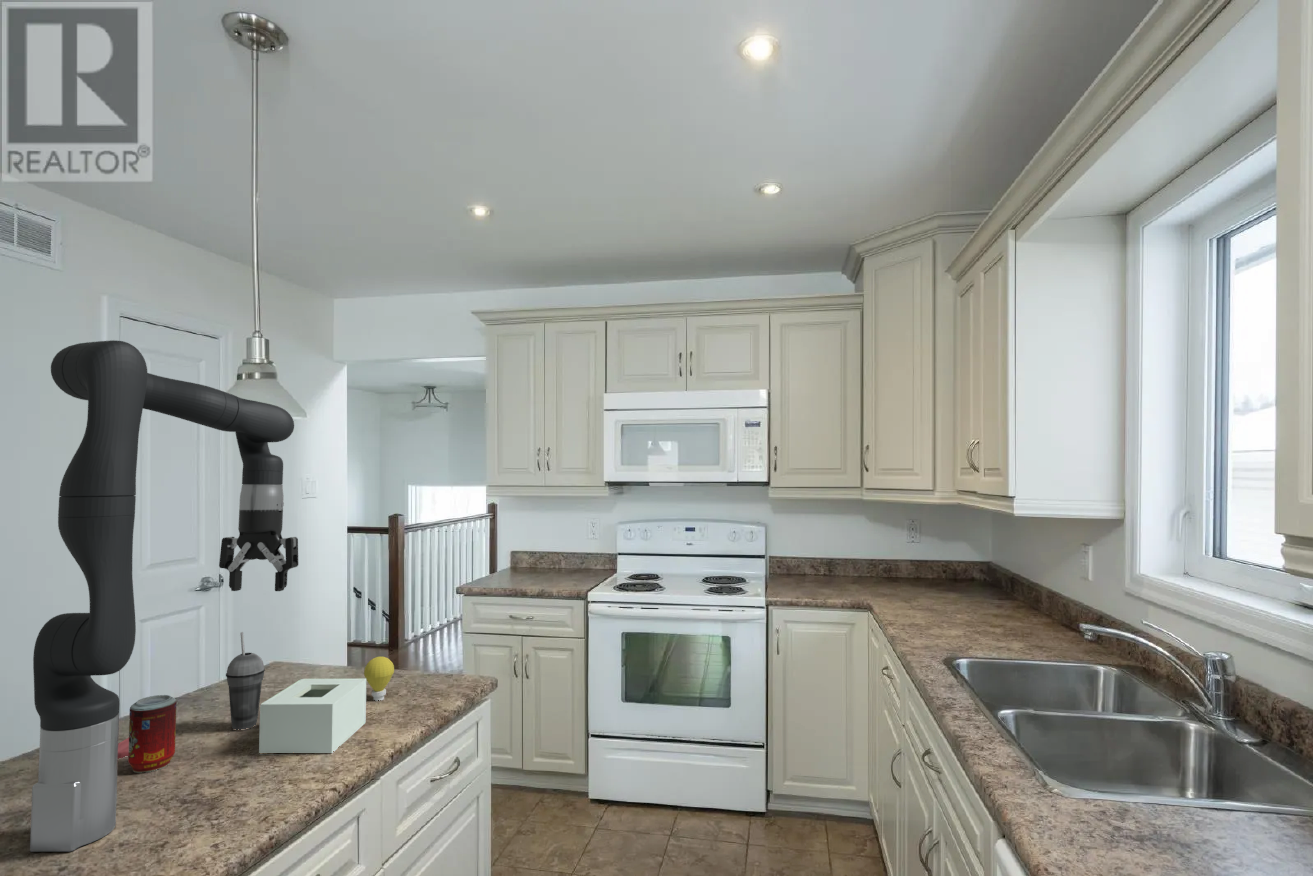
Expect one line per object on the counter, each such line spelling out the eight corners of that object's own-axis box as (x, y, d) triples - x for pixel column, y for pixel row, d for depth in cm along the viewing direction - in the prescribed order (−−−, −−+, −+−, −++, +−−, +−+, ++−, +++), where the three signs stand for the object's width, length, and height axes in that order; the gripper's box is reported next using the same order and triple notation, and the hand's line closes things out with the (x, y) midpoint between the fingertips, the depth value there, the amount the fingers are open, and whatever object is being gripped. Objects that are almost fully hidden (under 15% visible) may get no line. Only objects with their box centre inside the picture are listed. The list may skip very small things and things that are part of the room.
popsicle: (177, 723, 145) (128, 753, 130) (177, 730, 145) (127, 761, 130) (151, 723, 145) (98, 753, 130) (151, 731, 145) (98, 762, 130)
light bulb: (363, 697, 165) (363, 655, 166) (392, 693, 168) (393, 652, 168) (363, 705, 159) (364, 662, 159) (394, 701, 162) (395, 659, 162)
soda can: (122, 767, 127) (125, 700, 127) (168, 755, 132) (170, 690, 133) (133, 778, 122) (136, 708, 123) (180, 765, 128) (182, 698, 128)
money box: (331, 753, 133) (332, 704, 133) (259, 754, 132) (260, 704, 133) (365, 722, 149) (366, 678, 149) (300, 723, 148) (301, 678, 149)
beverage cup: (245, 734, 142) (247, 637, 143) (215, 732, 143) (218, 635, 144) (271, 722, 149) (273, 629, 150) (243, 719, 151) (245, 627, 151)
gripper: (213, 508, 131) (209, 593, 130) (287, 508, 131) (283, 593, 130) (237, 507, 139) (233, 588, 138) (307, 507, 139) (304, 588, 138)
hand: (257, 590), depth 134 cm, fingers open, 8 cm apart
